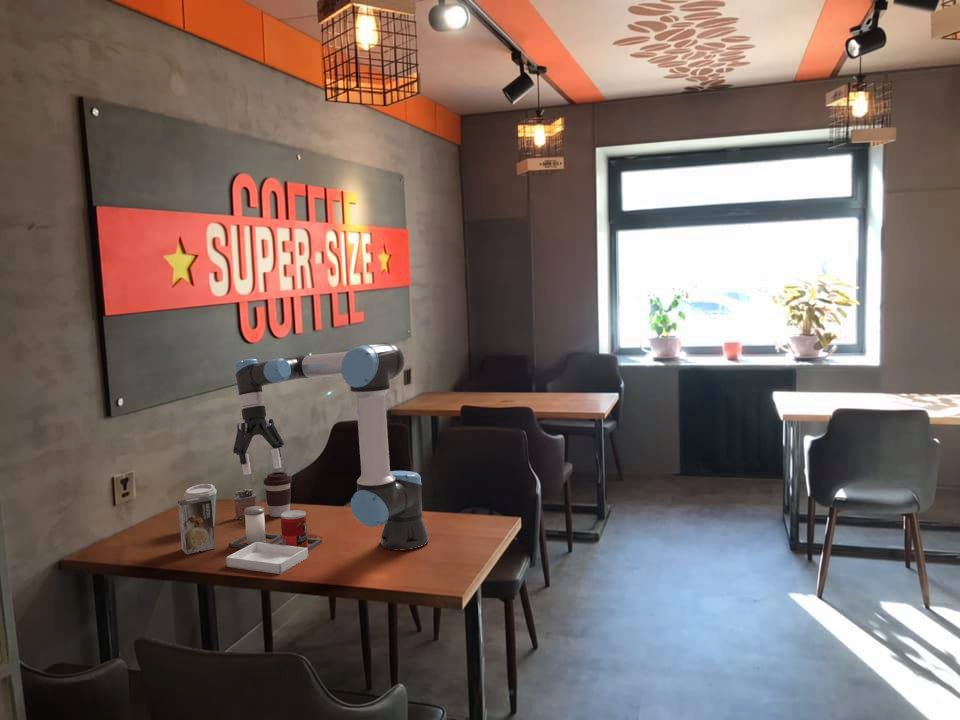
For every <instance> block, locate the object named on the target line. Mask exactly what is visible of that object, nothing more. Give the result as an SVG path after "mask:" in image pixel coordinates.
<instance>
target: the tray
mask: <svg viewBox="0 0 960 720" xmlns="http://www.w3.org/2000/svg"><path fill="white" fill-rule="evenodd" d="M307 559H309V551H308V548H303V547H295V546H286V545H278V544H276V543H273V544H270V543H267V542H265V543H261V542H255V543H253V544H251V545H249V546H247V547H245V548H240V550H237V551H235V552H234V553H232V554H229V555H227V556H226V557H225V562H226V568H232V569H238V570H239V569H240V570H247V571H253V572H262V573H267V574H268V573H269V574H274V575H275V574H277V575H282V574H284V573H286V572H287V571H288V570H290V569H292V568H293V566H294V567H295V566H297V565H299V564H300V563H301V561H302V562H303V560H304V561H305V560H307ZM298 563H299V564H298ZM296 564H297V565H296Z"/></svg>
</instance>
